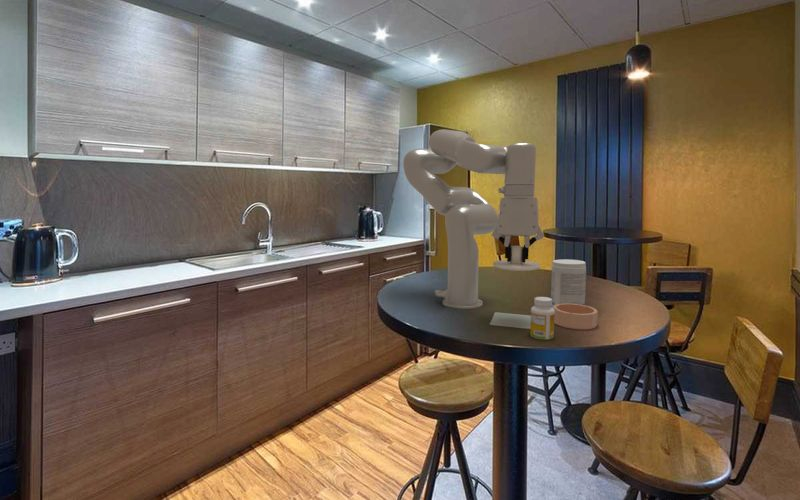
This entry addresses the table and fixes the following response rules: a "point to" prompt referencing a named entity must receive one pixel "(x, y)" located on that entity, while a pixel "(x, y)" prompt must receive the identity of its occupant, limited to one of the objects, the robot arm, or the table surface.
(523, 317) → the mat
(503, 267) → the lid
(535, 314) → the supplement bottle
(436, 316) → the table surface
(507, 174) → the robot arm
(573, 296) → the supplement tub
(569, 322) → the bowl
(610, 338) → the table surface
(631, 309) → the table surface
